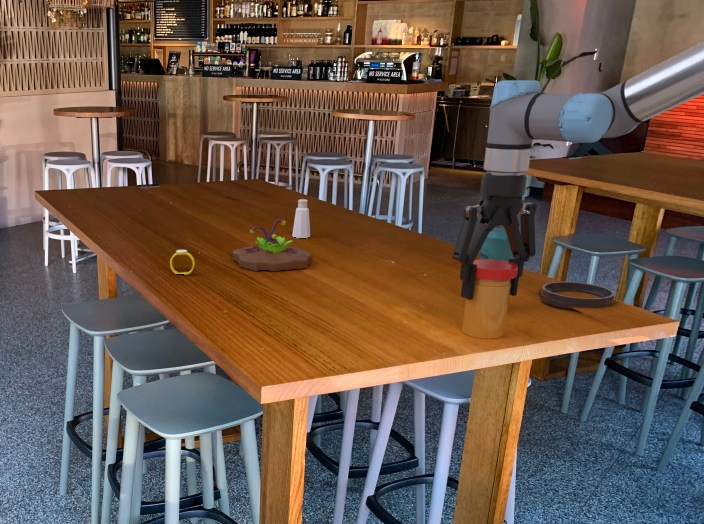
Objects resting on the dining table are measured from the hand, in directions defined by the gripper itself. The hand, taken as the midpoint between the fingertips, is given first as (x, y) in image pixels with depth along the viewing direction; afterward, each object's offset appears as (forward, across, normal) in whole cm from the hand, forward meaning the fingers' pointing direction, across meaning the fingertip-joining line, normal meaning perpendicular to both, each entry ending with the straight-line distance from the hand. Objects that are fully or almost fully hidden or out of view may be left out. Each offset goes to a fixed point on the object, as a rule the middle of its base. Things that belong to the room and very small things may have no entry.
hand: (488, 295), depth 149 cm
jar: (+7, 0, 0) cm, 7 cm away
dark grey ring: (+7, -31, -12) cm, 34 cm away
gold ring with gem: (+7, +44, -60) cm, 75 cm away
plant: (+7, +18, -66) cm, 69 cm away
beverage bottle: (+7, -11, -14) cm, 19 cm away
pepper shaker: (+7, -2, -95) cm, 95 cm away
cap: (-6, 0, 0) cm, 6 cm away
